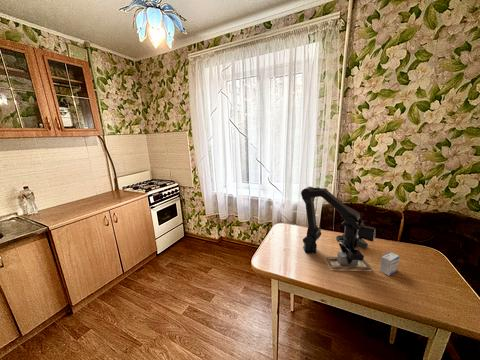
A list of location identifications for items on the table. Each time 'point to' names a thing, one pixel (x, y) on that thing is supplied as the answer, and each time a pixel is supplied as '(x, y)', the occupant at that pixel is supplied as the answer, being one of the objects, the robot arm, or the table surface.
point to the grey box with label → (345, 259)
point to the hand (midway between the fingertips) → (347, 260)
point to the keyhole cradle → (336, 266)
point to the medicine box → (389, 263)
